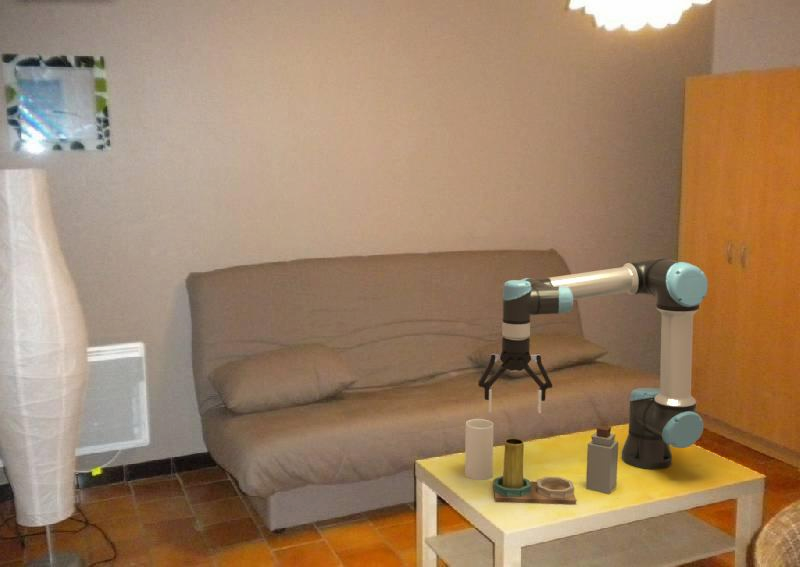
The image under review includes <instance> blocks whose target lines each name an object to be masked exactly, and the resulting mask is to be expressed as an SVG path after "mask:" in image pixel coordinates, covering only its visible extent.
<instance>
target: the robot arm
mask: <svg viewBox="0 0 800 567" xmlns="http://www.w3.org/2000/svg"><path fill="white" fill-rule="evenodd" d="M708 290H709V283H708V278H707V276H706V274H705V272H704V271H702V269H701V268H699V267H698V266H696V265H694V264H692V263H689V262H687V261H685V262H684V261H679V260H673V259H670V258H663V257H662V258H661V257H659V258H648V259H644V260H638V261H633V262H632V261H631V262H628V263H625V264H623V266H621V267H615V268H607V269H602V270H593V271H587V272H586V271H585V272H581V273H580V272H579V273H578V272H577V273H574V274H573V273H572V274H567V275H566V274H564V275H558V276H557V275H556V276H552V277H551V276H550V277H546V278H545V277H544V278H537V279H534V278H532V277H527V278H526V277H525V278H522V279H520V280H518V279H512V280H508V281H506V282H504V283H503V288H502V325H501V326H502V329H501V333H502V338H501V353H500V354H498V353H494V352H491V353H490V357H489V360H488V362H487V365H486V367H485V369H484V370H483V372H482V374H481V376H480V377H479V380H478V382H477V384H478V387H480V388H483V389H484V400H485V401H488V402H487V403H488V413H492V408H493V407H492V406H493V403H492V402H493V400H492V396H493V392H492V391H493V389H492V388H493V387H492V386H493V385H494V384H495V382H496V381H497V380H499V378H500V377H501V376H502V375H503V374H504V373H505V372H506V371H507V370H509V372H511V371H512V372H513V371H519V372H521V371H523V370H524V371H525V372H526V373H527V374H528V375H529V376H530V377H531V379H533V381H534V383H536V384H537V385H538V387H537V405H536V406H537V407H536V409H537V410H536V411H537V413H538V414H542V402H545V400H546V391H547V389H552V388H553V384H552V381H551V379H550V376H549V375H548V373H547V371H546V369H545V367H544V365H543V362H542V356H541V354H540V353H536V354H530V351H531V350H530V347H531V346H530V342H531V341H530V340H531V339H530V338H529V337H530V336H531V316H538V315H560V314H566V313H570V312H571V311H572V309H573V306H574V300H575V301H576V300H581V299H589V298H596V297H602V296H610V295H615V294H623V293H626V294H628V295H630V296H632V295H648V296H652V297H653V296H654V297H656V301H655V302H656V304H655V305H656V310H657V311H658V312H660V314H661V325H660V326H661V329H660V330H661V331H660V332H661V334H660V369H659V370H660V372H659V373H660V375H659V377H660V380H659V387H640V388H639V387H638V388H635V389H633V390H632V391H631V392H630V397H629V417H628V433H627V438H626V439H625V442H624V444H623V447H622V450H621V459H622V461H623V462H624V463H626V464H628V465H630V466H633V467H636V468H641V469H648V470H660V469H662V470H663V469H665V468H668V467H670V466H672V464H673V455H672V450H671V448H670V446H672V447H674V448H675V449H676V448H677V449H685V448H688V447H691V446H693V445H694V444H695V443H696V442H697V441H698V440H699V439H700V437H701V436H702V434H703V432H704V422H703V421H704V420H703V419H702V417H701V416H700V415H699V413H697V400H696V398H694V396H692V370H693V368H692V366H693V338H694V337H693V332H694V331H693V330H694V327H693V326H694V315H695V314H697V312H698V311H699V310H700V304H701V303H702V302H703V301H704V298H706V297H707V294H708ZM499 360H500V361H501V362H502V363H501V365H500V366H499V368H498V369H497V370H496V371H495V372H494V373H493V374H492V375H491V376H490V377H489V379H488V376H489V374H490V373H491V371H492V369H493V367H494V365H495V363H497V362H498V361H499ZM532 360H533V362H534V363H535V364H537V367H538V369H539V371H540V374H541V375H542V377H543V380H544V381H545V383H544V382H543V381H542V379H540V377H539V376H538V375H537V374H536V373H535V371H534V370H533V368H531V367H530V365H529V363H530V362H531V361H532ZM487 379H488V380H487ZM486 380H487V381H486Z"/></svg>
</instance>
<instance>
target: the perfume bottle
mask: <svg viewBox="0 0 800 567" xmlns="http://www.w3.org/2000/svg"><path fill="white" fill-rule="evenodd" d="M595 429H596V430H595V432H594V433H593V434H591V436H590V438H591V441H589V442H588V443H587V455H586V476H585V477H586V482H585V490H589V491H594V492H597V493H602V494H606V495H610V494H611V492H613V491H614V489H615V488H616V487H617V478H618V476H617V474H618V461H619V460H618V458H619V457H618V456H619V441H617V440H615V438H616V436H617V435H616V433H613V432H611V430H612V426H608V425H607V426H606V425H601V424H600V425H598V426H597V427H596V428H595Z"/></svg>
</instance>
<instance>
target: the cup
mask: <svg viewBox="0 0 800 567" xmlns="http://www.w3.org/2000/svg"><path fill="white" fill-rule="evenodd" d="M464 448H465V451H464V452H465V453H464V454H465V455H464V456H465V457H464V458H465V460H464V463H465V465H464V476H466V477H467V478H469V479H471V480H475V481H484V480H488V479H490V478H492V477H493V474H494V473H493V469H494V468H493V467H494V464H493V463H494V422H493V421H491V420H487V419H483V418H473V419H469V420H467V421H466V422H465V447H464Z"/></svg>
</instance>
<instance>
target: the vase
mask: <svg viewBox="0 0 800 567" xmlns="http://www.w3.org/2000/svg"><path fill="white" fill-rule="evenodd" d="M524 446H525V444H524V440H523V439H520V438H517V437H510V438H507V439H505V440H504V452H503V453H504V454H503V455H504V456H503V457H504V458H503V471H502V472H503V473H502V476H503V483H502V486H503V487H505V488H512V489H520V488H522V487H523V478H524V448H525V447H524Z"/></svg>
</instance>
